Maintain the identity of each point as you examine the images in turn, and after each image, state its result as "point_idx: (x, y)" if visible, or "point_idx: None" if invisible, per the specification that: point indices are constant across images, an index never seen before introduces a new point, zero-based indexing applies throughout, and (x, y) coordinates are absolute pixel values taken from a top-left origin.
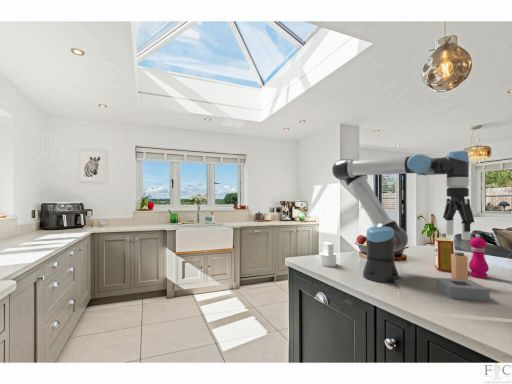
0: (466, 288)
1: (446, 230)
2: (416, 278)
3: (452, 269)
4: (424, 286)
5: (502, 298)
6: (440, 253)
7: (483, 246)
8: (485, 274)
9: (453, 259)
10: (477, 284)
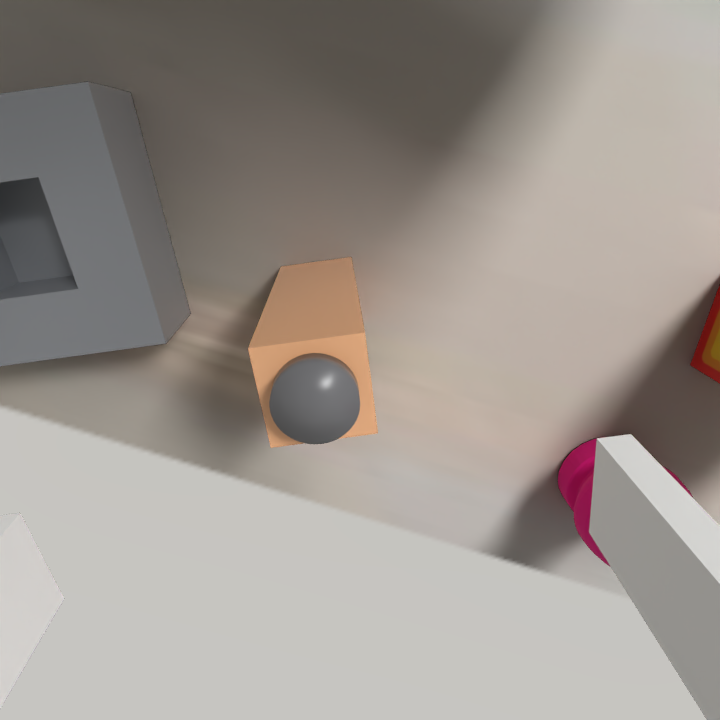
0: None
1: (650, 497)
2: (432, 5)
3: (335, 288)
4: (192, 18)
5: (155, 436)
6: None
7: None
8: (572, 508)
9: (309, 322)
10: (39, 348)
